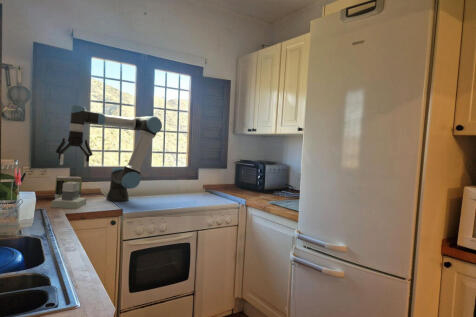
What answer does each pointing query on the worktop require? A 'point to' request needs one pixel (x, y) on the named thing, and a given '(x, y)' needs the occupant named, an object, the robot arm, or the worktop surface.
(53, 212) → the worktop surface
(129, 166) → the robot arm
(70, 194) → the block
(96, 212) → the worktop surface
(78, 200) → the stand
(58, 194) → the tea box
